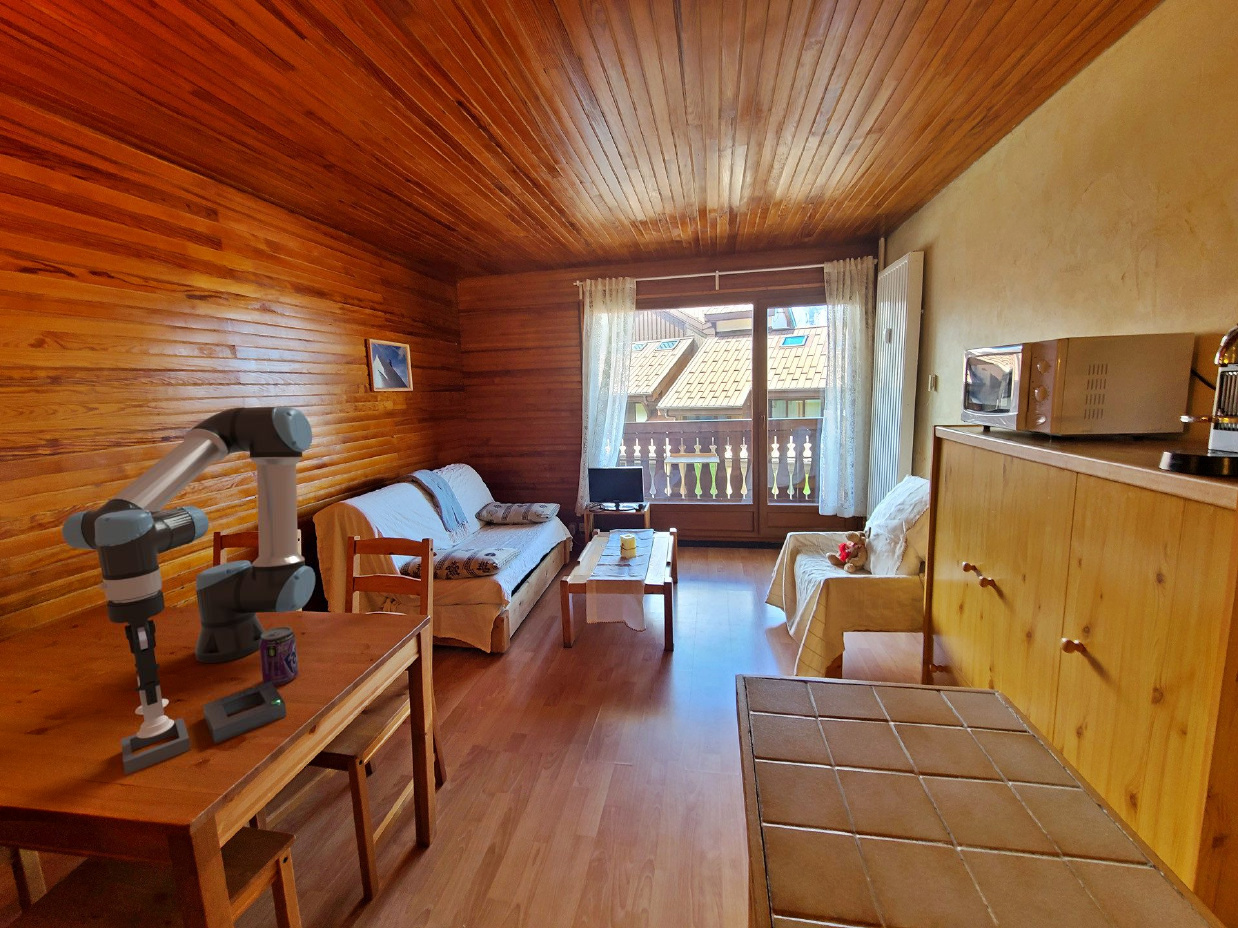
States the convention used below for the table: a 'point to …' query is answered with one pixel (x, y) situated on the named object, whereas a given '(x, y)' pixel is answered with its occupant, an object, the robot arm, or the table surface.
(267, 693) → the port block
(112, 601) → the robot arm
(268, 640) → the beverage can
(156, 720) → the candle
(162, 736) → the grey square frame
